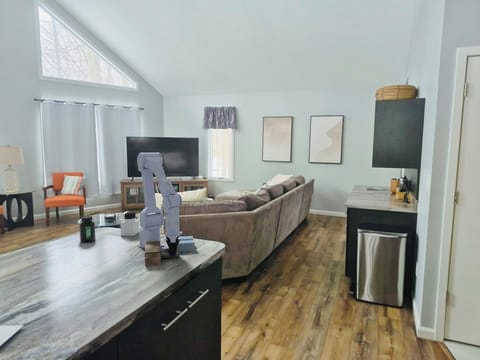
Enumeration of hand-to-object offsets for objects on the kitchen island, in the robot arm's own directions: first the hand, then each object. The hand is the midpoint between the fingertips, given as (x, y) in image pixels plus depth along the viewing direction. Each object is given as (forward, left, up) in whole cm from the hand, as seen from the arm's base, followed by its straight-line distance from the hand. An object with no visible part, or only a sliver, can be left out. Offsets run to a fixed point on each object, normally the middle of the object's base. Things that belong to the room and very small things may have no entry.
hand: (172, 253), depth 136 cm
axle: (-3, -3, 0) cm, 4 cm away
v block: (-4, +12, -2) cm, 13 cm away
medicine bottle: (-43, +13, -2) cm, 45 cm away
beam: (-6, -6, -2) cm, 8 cm away
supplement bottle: (-51, -6, -2) cm, 51 cm away
